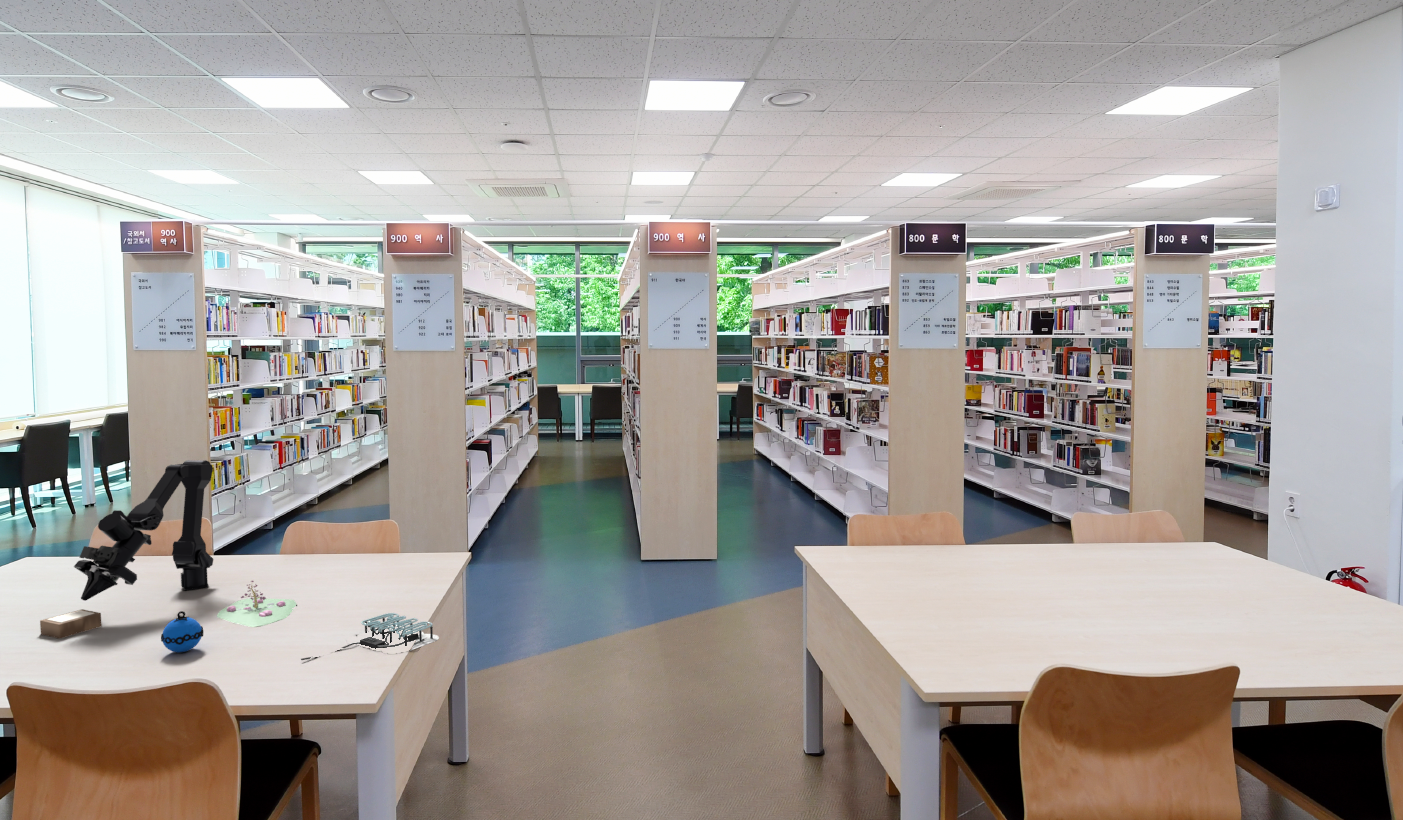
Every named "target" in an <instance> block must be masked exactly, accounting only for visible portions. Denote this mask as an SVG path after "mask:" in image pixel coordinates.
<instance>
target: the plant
mask: <svg viewBox="0 0 1403 820" xmlns="http://www.w3.org/2000/svg"><path fill="white" fill-rule="evenodd" d="M250 582H251V584H246V586H247V589H248V590H247V592H248V593H249V592H251V593H249V594H248V593H244V595H242V596H241V597H240V598H241V599H240V600H237V601H235V602H233V603H231V604H230V605H228V606H226V607H224V608H223V609H221V610H219V611H218V613H217V615H216V616H217V618H218V619H221V620H224V621H226V622H229V623H233V624H236V625H237V624H238V625H241V626H243V627H244V626H245V627H249V628H257V627H263V626H267V625H270V624H273V623H276V622H279V621H282V620H284V619H286V618H288V617H289V616H290V615H291V613H292V612H293V611H294V610H295V609H292V608H294V607H295V606H296V604H297V602H296V601H295V600H294V599H292V598H291V599H290V598H289V599H287V598H266V596H263V595H264V593H262V592H261V591H260V592H259V589H258V590H256V589H255V588H257V587H258V584H255V585H253V584H252V583H254V580H250ZM253 588H254V589H253ZM258 593H259V594H258ZM245 597H246V598H245ZM296 607H297V606H296ZM292 610H293V611H292Z"/></svg>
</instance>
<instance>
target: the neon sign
mask: <svg viewBox="0 0 1403 820" xmlns="http://www.w3.org/2000/svg"><path fill="white" fill-rule="evenodd" d="M381 619H382V622H381ZM418 621H419V619H418V618H415V617H411V618H409V619H407V616H405V615H402V616H400V614H398V613H395V612H388V613H383V614H380V615H376V616H374V617H371V618H367V619H364V620H362V621H361V622H360V623H361V625H362V626H364V632H365V633H367V631H368V628H369V630H371V632H372V637H373V636H374V633H375V634H376V635H378V634H379V633H380V634H382V639H384V638H385V635H384V634H387V633H388V634H387V636H386V638H385V641H382V640H379V639H376V638H372V637H367V638H364V639H361V640H360V642H356V643H351V644H349V643H348V644H347V645H345V646H342V647H341V648H344V649H346V648H349V647H351V646H353V645H354V644H361V645H365V646H369V647H371V648H375V649H376V648H387V647H395V646H399V645H402V644H404V643H405V646H407V642H411V641H414V640H416V642H415V643H414V645H413V647H412V649H411V650H410V651H409V652H411V651H413V650H416V649H418V648H422V647H425V646H427V645H430V644H432V643H434V642H437V641H438V640H439V639H440V637H439V635H437V634H433V627H434V625H433V622H431V621H420V622H418ZM416 622H417V623H416ZM413 623H414V624H413ZM392 625H393V626H392ZM388 626H389V627H388ZM400 626H401V627H400ZM395 627H398V628H396V629H395ZM403 627H404V628H403ZM375 628H377V629H375ZM390 628H391V629H390ZM428 628H429V630H430V631H429V632H430V633H424V630H426V629H428ZM385 629H388V630H389V631H387V632H384V630H385ZM392 629H393V630H392ZM377 630H378V633H376V631H377ZM401 630H403V631H402V633H401V635H400V633H399V631H401ZM408 630H410V631H408ZM395 631H396V633H397V634H399V638H398V639H399V640H400V639H401V637H403V639H404V640H405V641H404V642H402V643H399V644H395V645H389V643H388V642H387V637H388V636H389V634H390V643H391V642H392V632H393V633H395ZM406 631H407V632H406ZM413 631H414V632H413ZM418 631H419V635H418V633H416V632H418ZM413 633H416V634H413ZM409 634H411V635H409ZM407 635H409V636H407ZM407 638H408V640H407ZM385 642H386V643H387V644H386V643H385ZM311 657H312V656H310V657H304V658H300V660H301V661H304V660H305V661H306V660H311V659H310V658H311Z"/></svg>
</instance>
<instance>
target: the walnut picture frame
mask: <svg viewBox="0 0 1403 820" xmlns="http://www.w3.org/2000/svg"><path fill="white" fill-rule="evenodd" d="M39 623H40V624H39V625H40V627H39V629H40V635H42V636H46V637H50V638H54V639H59V640H61V639H63V638H67V637H71V636H74V635H76V634H81V633H84V632H87V631H92V630H94V629H98V628H101V627H102V612H97V611H93V610H89V609H78V610H73V611H71V612H67V613H63V614H59V615H56V616H51V617H47V618H43V619H40V620H39Z"/></svg>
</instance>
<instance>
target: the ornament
mask: <svg viewBox="0 0 1403 820" xmlns="http://www.w3.org/2000/svg"><path fill="white" fill-rule="evenodd" d="M181 614H182V615H181ZM176 616H177V617H176V618H174V619H173V620H171V621H169V622H168V623H167V624H166V626H165V627H164V629H163V630H162V633H160V634H161V635H160V641H161V642H162V644H163V645H164V647H165V648H166V649H168V650H169V651H171V652H173V653H179V654H181V653H186V652H188V651H191V650H192V649H194V648H195V647H196V646H197V645H199V643H200V641H201V640H202V637H204V629H203V628H204V626H203V625H201V624H200V623H199V621H198V620H196V619H195V618H193V617H189V616H186V612H185V611H182V610H181V611H179V612H177V615H176Z"/></svg>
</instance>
